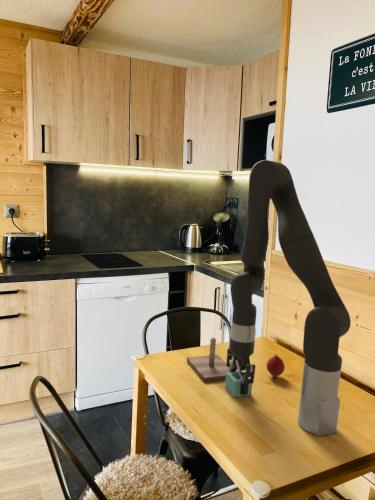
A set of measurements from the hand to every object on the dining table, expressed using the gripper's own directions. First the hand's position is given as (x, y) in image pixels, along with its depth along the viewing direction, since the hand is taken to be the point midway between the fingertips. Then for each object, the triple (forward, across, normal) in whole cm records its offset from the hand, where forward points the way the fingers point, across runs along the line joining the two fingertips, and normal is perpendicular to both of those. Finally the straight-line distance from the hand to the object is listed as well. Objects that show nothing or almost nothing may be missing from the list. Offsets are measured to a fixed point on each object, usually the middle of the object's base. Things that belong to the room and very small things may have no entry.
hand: (238, 388), depth 125 cm
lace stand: (+1, +16, +2) cm, 16 cm away
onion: (+1, +6, -17) cm, 18 cm away
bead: (+1, 0, 0) cm, 1 cm away
